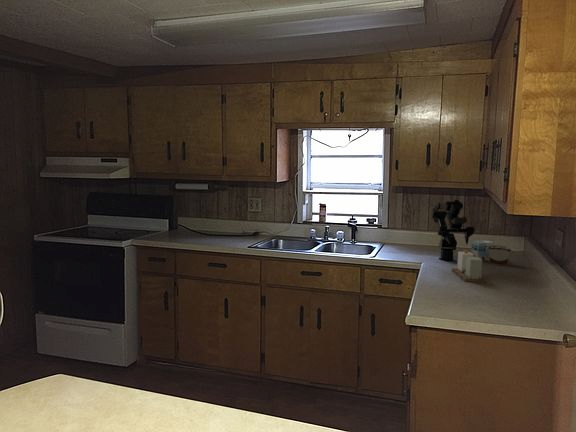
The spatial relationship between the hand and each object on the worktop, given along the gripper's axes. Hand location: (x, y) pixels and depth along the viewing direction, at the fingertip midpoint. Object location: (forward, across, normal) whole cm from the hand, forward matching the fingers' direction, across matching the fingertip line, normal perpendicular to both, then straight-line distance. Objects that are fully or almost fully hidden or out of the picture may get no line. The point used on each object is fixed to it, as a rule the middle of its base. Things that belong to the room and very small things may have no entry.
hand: (458, 243), depth 260 cm
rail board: (+22, 0, -4) cm, 22 cm away
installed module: (+26, 0, -11) cm, 28 cm away
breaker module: (+17, 0, -1) cm, 17 cm away
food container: (+1, +27, +18) cm, 33 cm away
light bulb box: (-6, +21, +26) cm, 34 cm away
